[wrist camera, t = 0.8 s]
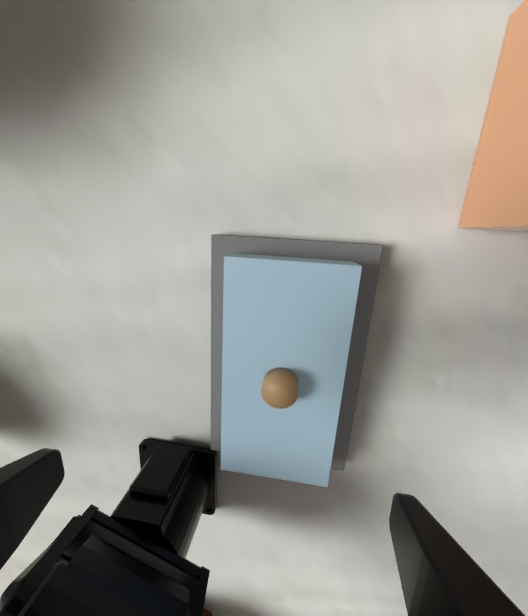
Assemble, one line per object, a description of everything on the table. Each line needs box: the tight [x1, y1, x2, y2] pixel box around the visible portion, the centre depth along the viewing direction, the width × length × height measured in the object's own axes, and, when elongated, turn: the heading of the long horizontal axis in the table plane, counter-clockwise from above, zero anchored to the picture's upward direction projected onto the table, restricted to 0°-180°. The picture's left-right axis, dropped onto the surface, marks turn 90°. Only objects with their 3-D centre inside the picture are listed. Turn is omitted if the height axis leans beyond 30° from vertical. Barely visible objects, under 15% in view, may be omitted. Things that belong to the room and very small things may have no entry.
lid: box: [221, 253, 362, 487], centre depth 16 cm, size 14×7×4 cm, turn 177°
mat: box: [211, 235, 383, 471], centre depth 18 cm, size 16×10×1 cm, turn 177°
